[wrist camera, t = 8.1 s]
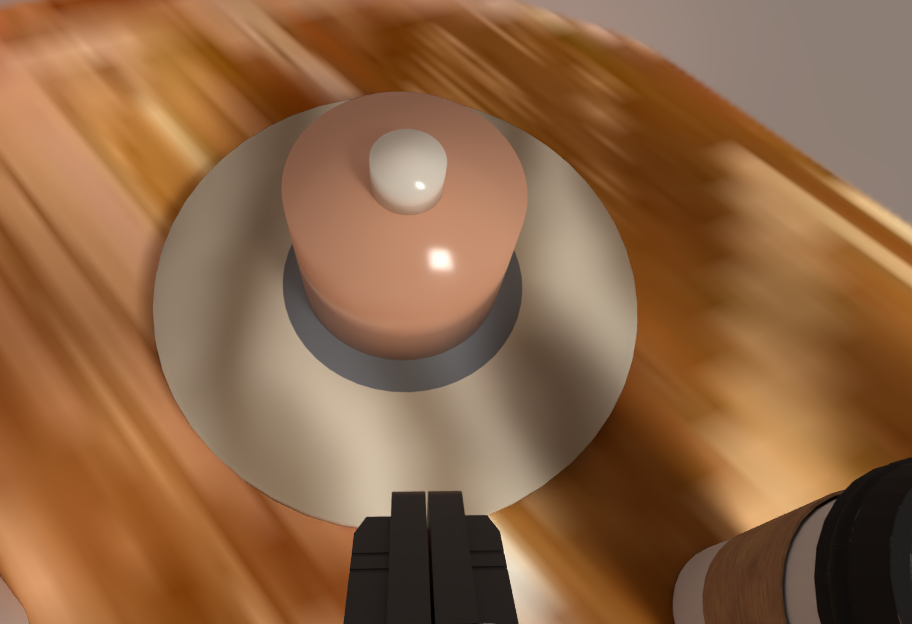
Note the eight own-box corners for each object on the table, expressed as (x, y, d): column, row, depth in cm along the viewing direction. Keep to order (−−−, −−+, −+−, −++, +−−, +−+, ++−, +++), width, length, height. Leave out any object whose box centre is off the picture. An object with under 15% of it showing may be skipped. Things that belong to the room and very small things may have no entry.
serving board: (561, 100, 40) (567, 82, 39) (690, 480, 31) (704, 474, 29) (161, 131, 36) (152, 112, 35) (164, 582, 26) (152, 580, 25)
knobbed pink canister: (481, 180, 35) (508, 58, 27) (517, 347, 31) (561, 259, 23) (296, 194, 33) (269, 68, 26) (308, 372, 29) (281, 286, 22)
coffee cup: (676, 747, 26) (997, 895, 12) (622, 531, 29) (826, 461, 16) (859, 706, 27) (1328, 800, 14) (786, 504, 31) (1104, 419, 17)
